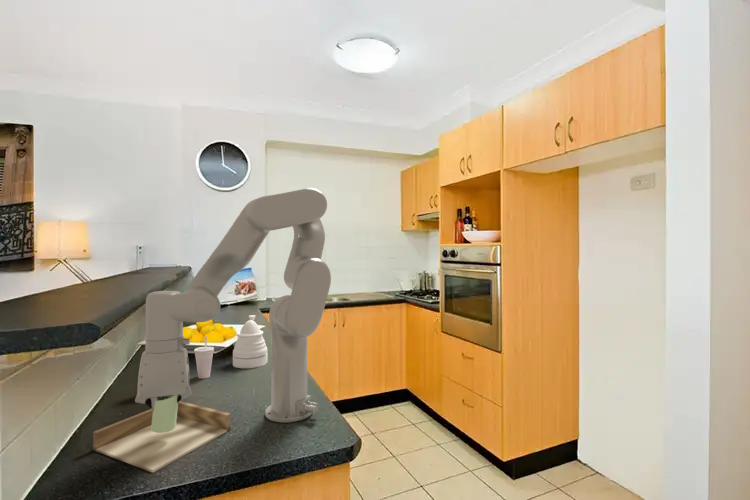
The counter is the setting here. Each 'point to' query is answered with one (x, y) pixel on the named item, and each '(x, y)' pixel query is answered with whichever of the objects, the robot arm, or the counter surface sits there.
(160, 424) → the candle
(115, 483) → the counter surface
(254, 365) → the honey pot
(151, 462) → the wooden tray
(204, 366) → the smoothie
